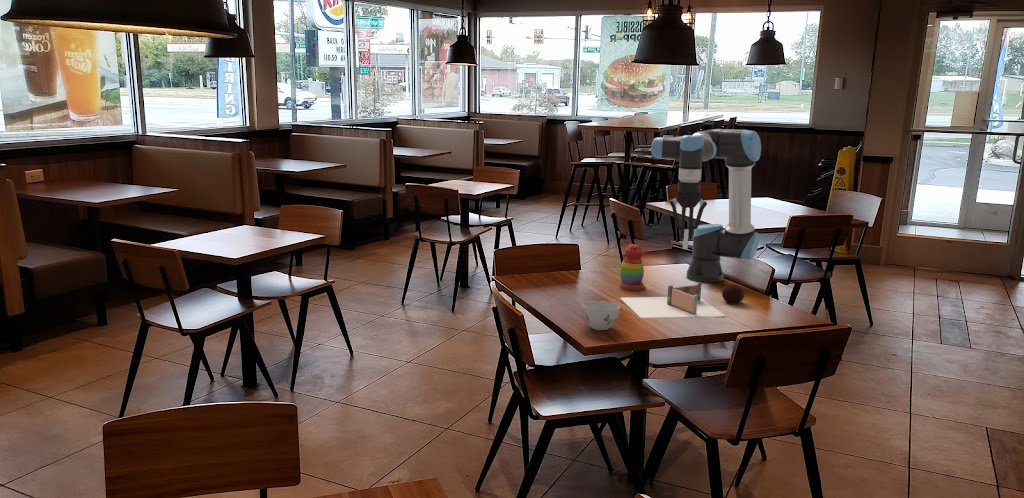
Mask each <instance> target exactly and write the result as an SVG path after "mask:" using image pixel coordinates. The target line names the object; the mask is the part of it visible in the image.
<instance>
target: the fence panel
mask: <svg viewBox="0 0 1024 498" xmlns="http://www.w3.org/2000/svg"><path fill="white" fill-rule="evenodd" d="M697 298H698V295H694V296H692V295H690V294H687V293H684V292H682V291H679V290H676V289H672V299H671V305H674V306H676V307H678V308H681V309H683V310H686V311H688V312H691V313H692V314H696V312H697Z"/></svg>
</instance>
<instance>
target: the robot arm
mask: <svg viewBox="0 0 1024 498" xmlns="http://www.w3.org/2000/svg"><path fill="white" fill-rule="evenodd" d="M650 146H651V147H650V153H651V156H652V157H653V158H655V159H665V160H677V161H679V166H678V180H679V181H677V182H678V183H677V192H676V193H677V194H676V195H675V197H674V198H672V199H669V205H670V206H671V208H672V214H673V220H674V223H675V228H676V229H679V230H680V234H679V235H680V239H681V240H683V241H682V249H683V250H688V248H689V247H688V246H689V240H692V250H691V251H692V255H691V261H690V263H689V266H688V267H687V271H686V278H687V279H689V280H691V281H695V282H701V283H719V282H722V281H723V280H724V272H723V269H722V265H721V257H724V258H730V259H734V260H735V259H736V260H741V261H742V260H744V261H751V260H752V259H753V258H754V257H755V256H756V253H757V251H758V249H759V244H760V238H761V237H760V234H759V233H758V232H755V230H756V229H755V226H754V225H753V224H752V223H751V222H752V220H751V219H752V214H751V213H752V169H753V167H754V166H755V165H756V162H758V161H759V160H760V157H761V155H762V154H761V152H762V143H761V138H760V136H759V133H757V132H756V131H755V130H748V129H732V128H731V129H730V128H729V129H727V128H715V129H714V128H712V129H708V130H701V131H696V132H695V133H693V134H688V135H687V134H685V135H682V136H674V137H664V136H662V137H655V138H654V139H653V140H652V142H651V145H650ZM713 158H714V159H722V160H723V159H724V165H725V166H726V167H727V169H728V224H726V225H725V226H724V225H723V224H720V223H707V224H706V223H705V224H700V221H701V218H702V215H703V213H704V209H705V208H706V207H707V205H708V202H707V201H706V200H704V199H703V198H702V196H701V186H702V185H701V182H700V181H701V180H702V168H703V167H702V166H703V162H708V161H709V160H712V159H713ZM677 203H678V204H679V205H680V207H681V217H680V218H681V219H680V220H681V221H680V222H679V217H678V212H677ZM698 204H699V209H698V211H697V215H696V218H695V221H694V209H695V208H696V206H697V205H698ZM687 209H689V213H688V227H687V229H686V228H685V227H686V213H687V212H686V211H687ZM693 222H694V224H693ZM692 235H693V236H692Z"/></svg>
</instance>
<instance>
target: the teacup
mask: <svg viewBox="0 0 1024 498" xmlns="http://www.w3.org/2000/svg"><path fill="white" fill-rule="evenodd" d="M581 307H582V313H583V317H584V320H585V321H586V322H587V324H588V325H589V326H590V328H592V330H596V331H606V330H609V329H610V328H611V327H612V326H613V325H614V323H615V322H616V321H617V319H618V317H619V315H620V311H621V305H620V304H618V303H615V302H612V301H608V300H607V301H605V300H600V301H599V300H588V301H585V302H582V305H581Z"/></svg>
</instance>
